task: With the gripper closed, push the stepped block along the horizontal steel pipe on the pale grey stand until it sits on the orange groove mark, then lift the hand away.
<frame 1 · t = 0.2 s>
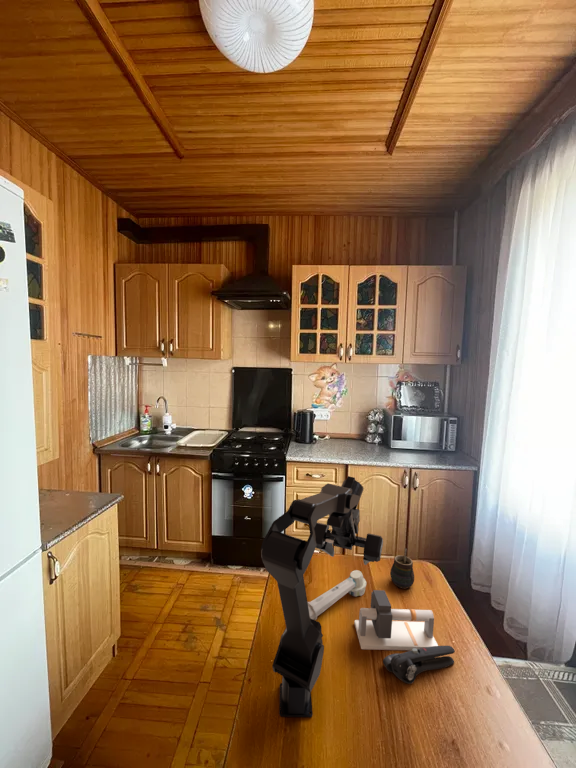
hand: (349, 559, 96), 14 cm above the table, tool tilted 30°, fingers open, 9 cm apart
pipe stand: (394, 636, 88), on the table
light grey long piece: (333, 605, 98), on the table
can opener: (421, 670, 79), on the table
mate gourd: (401, 584, 109), on the table
stepped block: (380, 612, 87), point 6 cm above the table, slide at 0.0 cm
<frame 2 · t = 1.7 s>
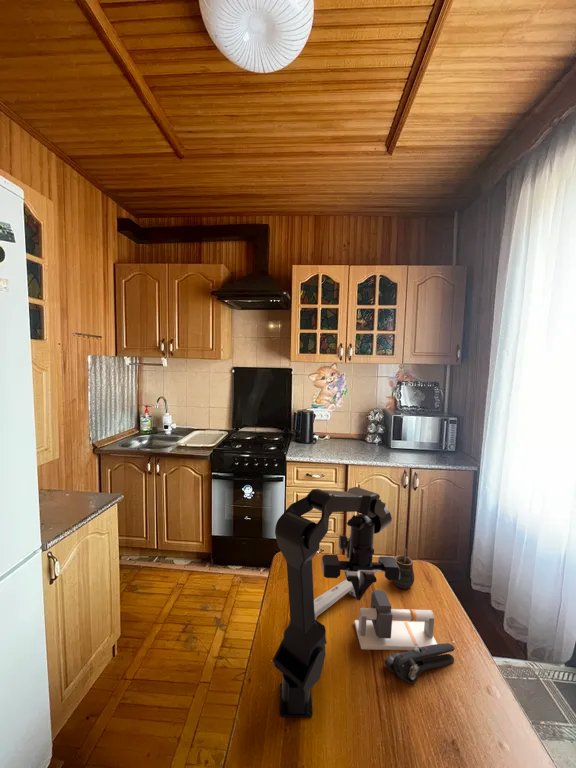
hand: (357, 598, 87), 10 cm above the table, tool pointing down, fingers closed
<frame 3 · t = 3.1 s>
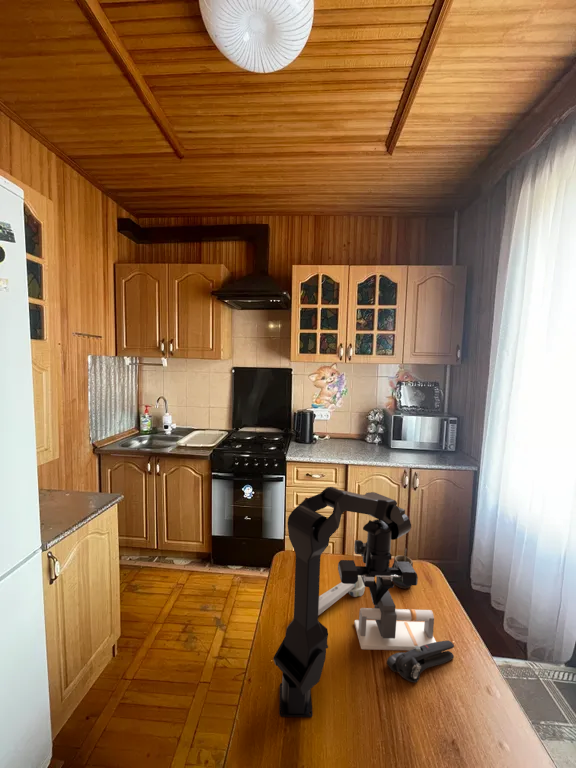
hand: (374, 603, 87), 9 cm above the table, tool pointing down, fingers closed
stepped block: (384, 612, 87), point 6 cm above the table, slide at 1.1 cm, touching gripper
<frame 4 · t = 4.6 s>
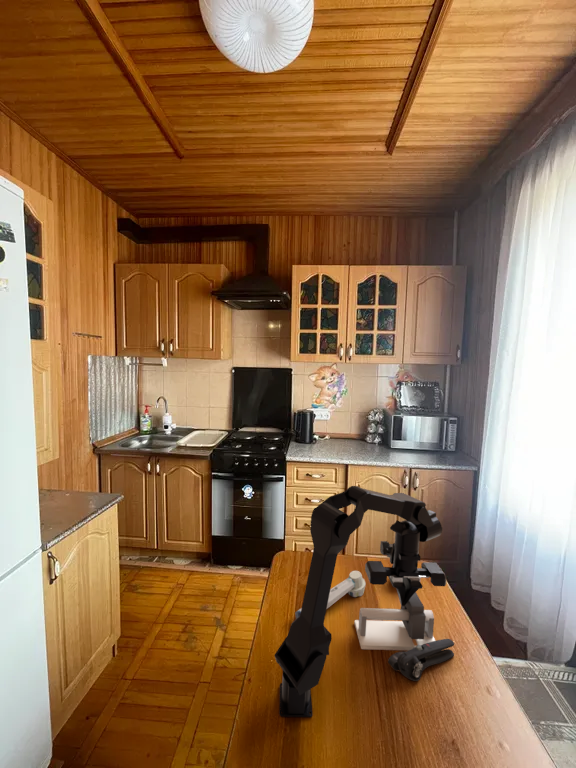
hand: (402, 604, 87), 9 cm above the table, tool pointing down, fingers closed
stepped block: (412, 613, 87), point 6 cm above the table, slide at 8.1 cm, touching gripper
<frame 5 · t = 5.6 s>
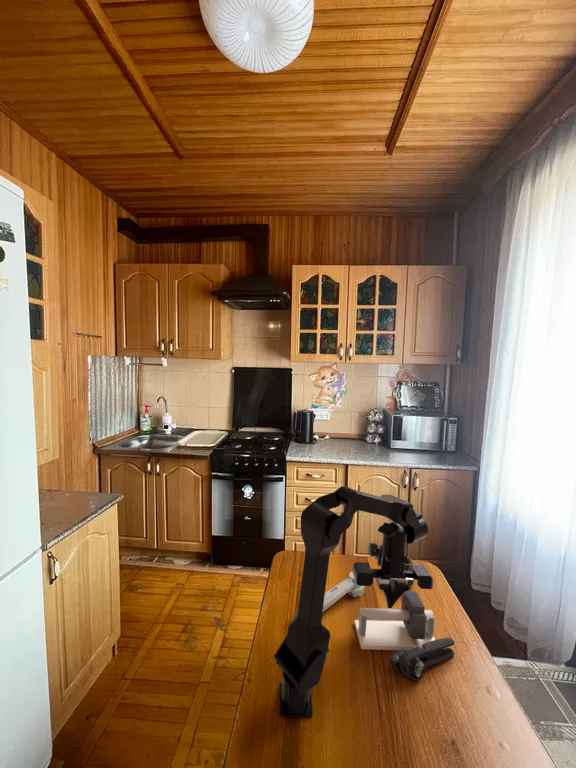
hand: (389, 607, 87), 8 cm above the table, tool pointing down, fingers closed
stepped block: (413, 613, 87), point 6 cm above the table, slide at 8.2 cm
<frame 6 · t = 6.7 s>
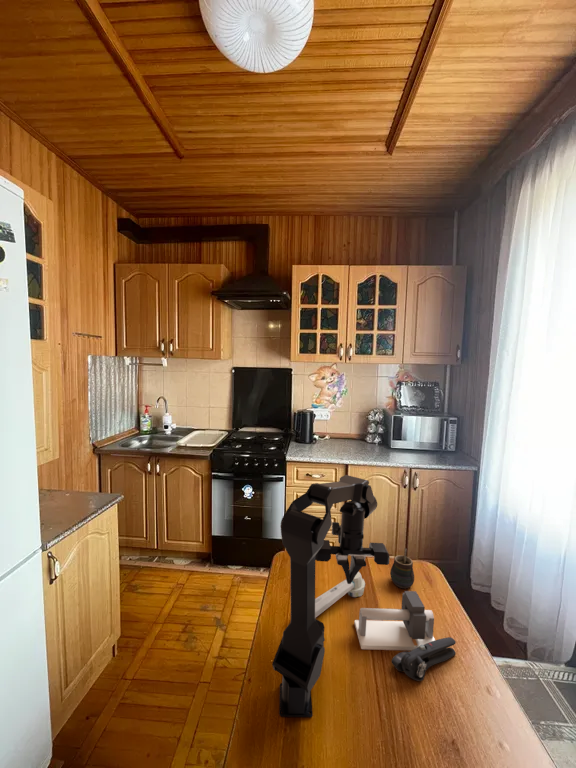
hand: (348, 582, 90), 12 cm above the table, tool pointing down, fingers closed
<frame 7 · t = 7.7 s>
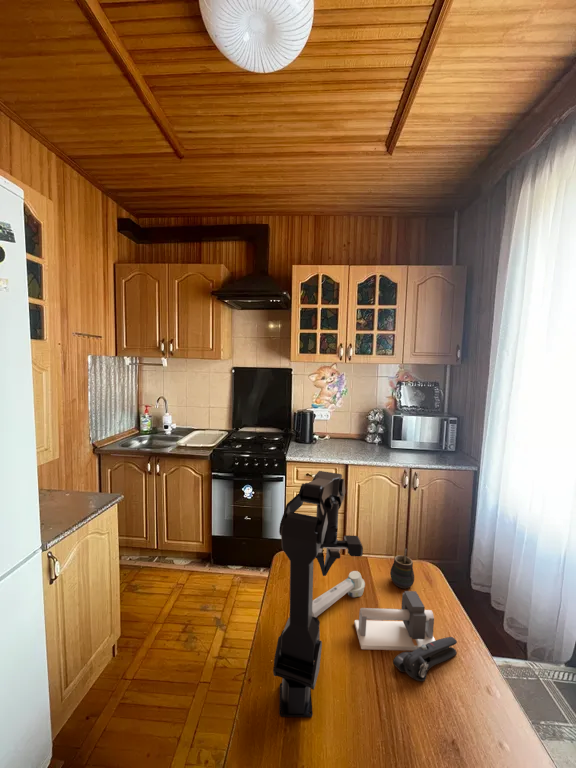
hand: (324, 574, 92), 12 cm above the table, tool pointing down, fingers closed
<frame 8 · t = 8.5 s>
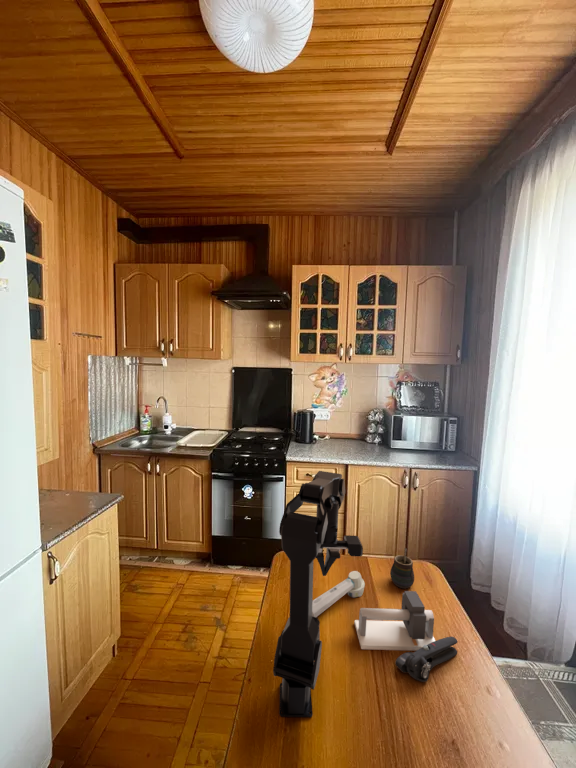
hand: (324, 574, 92), 12 cm above the table, tool pointing down, fingers closed
at the end: stepped block slide at 8.2 cm; light grey long piece moved 0.9 cm from its start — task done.
